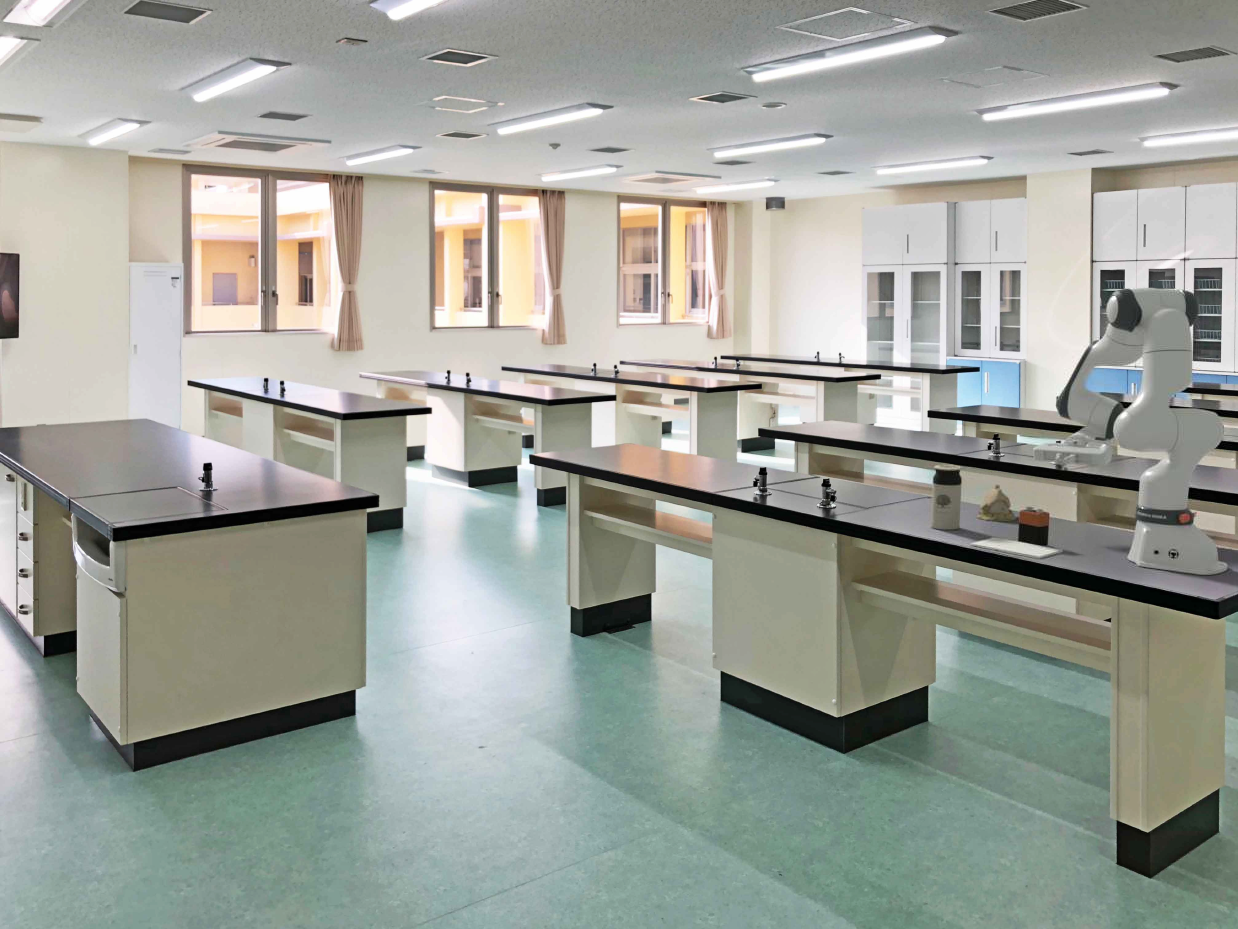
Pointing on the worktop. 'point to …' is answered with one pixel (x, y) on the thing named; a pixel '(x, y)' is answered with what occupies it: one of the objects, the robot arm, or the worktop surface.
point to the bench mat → (1017, 547)
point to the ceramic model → (996, 506)
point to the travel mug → (946, 497)
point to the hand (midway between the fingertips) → (1060, 461)
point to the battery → (1033, 526)
